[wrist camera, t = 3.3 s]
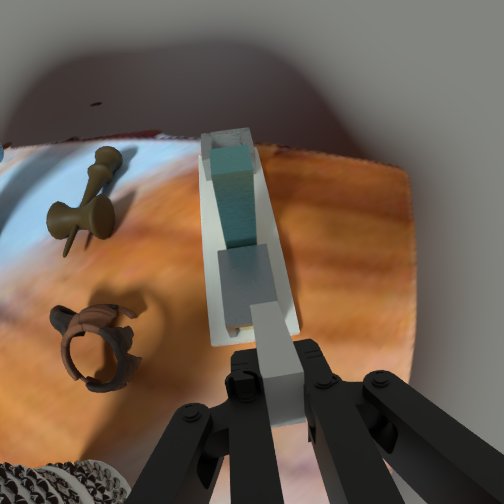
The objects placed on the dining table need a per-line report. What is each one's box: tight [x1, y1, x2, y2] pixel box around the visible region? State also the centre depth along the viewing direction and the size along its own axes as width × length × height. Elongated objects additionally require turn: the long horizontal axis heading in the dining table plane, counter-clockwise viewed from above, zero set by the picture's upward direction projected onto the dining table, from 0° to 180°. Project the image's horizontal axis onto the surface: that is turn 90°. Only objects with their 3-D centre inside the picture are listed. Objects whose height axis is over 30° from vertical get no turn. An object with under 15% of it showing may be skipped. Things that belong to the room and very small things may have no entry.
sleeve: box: [217, 244, 278, 338], centre depth 29 cm, size 8×5×4 cm, turn 8°
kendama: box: [46, 146, 123, 257], centre depth 38 cm, size 6×10×20 cm
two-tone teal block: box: [209, 144, 257, 331], centre depth 27 cm, size 14×3×13 cm, turn 8°
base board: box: [199, 147, 300, 347], centre depth 36 cm, size 28×9×1 cm, turn 8°
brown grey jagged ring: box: [50, 304, 142, 393], centre depth 27 cm, size 12×10×8 cm
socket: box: [201, 127, 256, 181], centre depth 40 cm, size 6×7×4 cm
